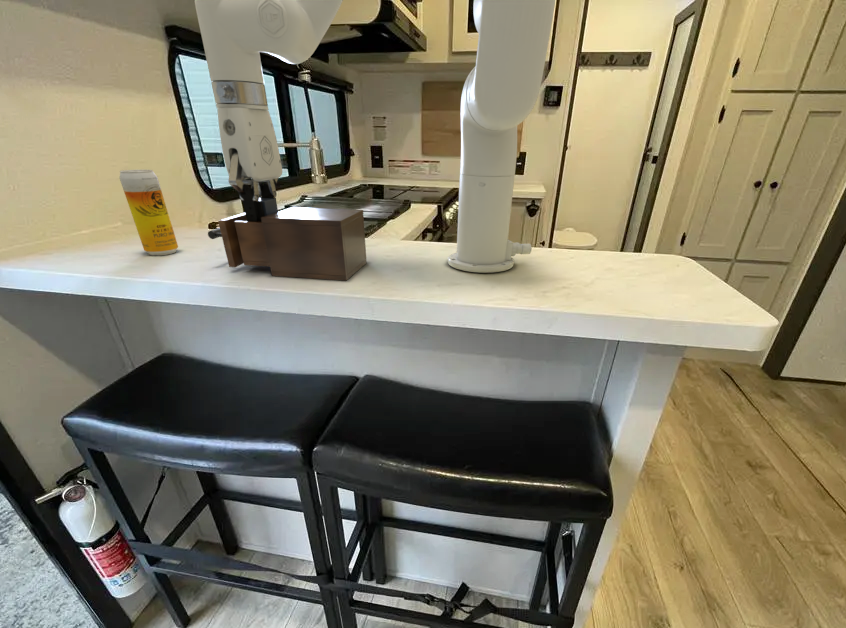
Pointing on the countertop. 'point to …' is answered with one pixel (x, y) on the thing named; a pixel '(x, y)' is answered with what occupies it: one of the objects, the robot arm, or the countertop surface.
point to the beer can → (149, 211)
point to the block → (269, 205)
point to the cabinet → (315, 242)
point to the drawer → (242, 241)
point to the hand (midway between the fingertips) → (263, 222)
